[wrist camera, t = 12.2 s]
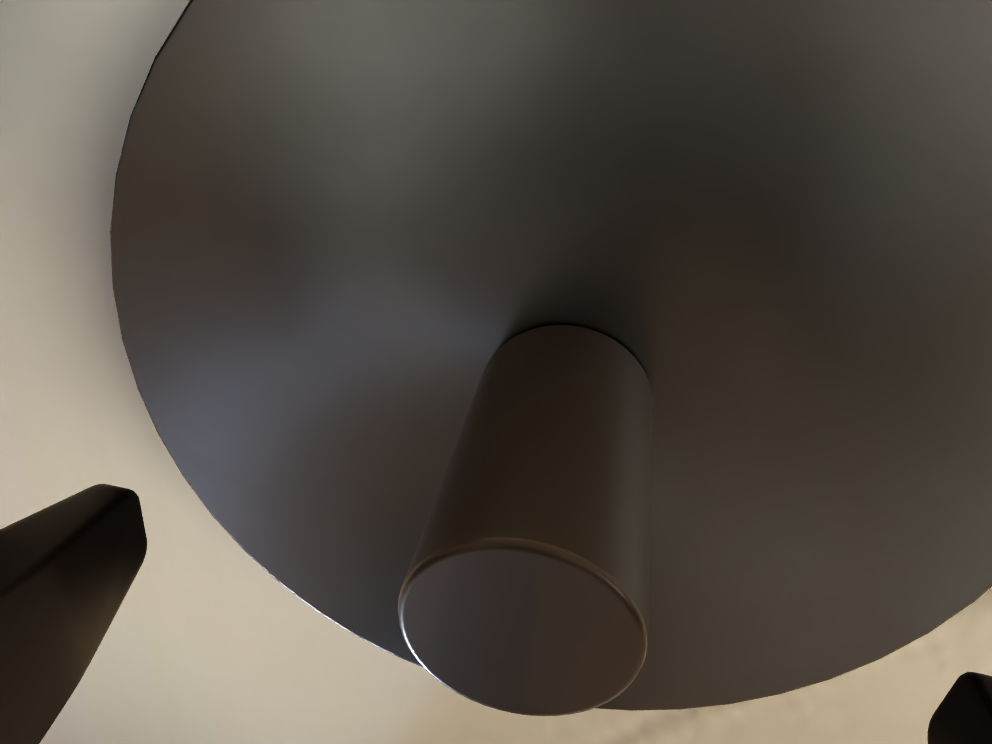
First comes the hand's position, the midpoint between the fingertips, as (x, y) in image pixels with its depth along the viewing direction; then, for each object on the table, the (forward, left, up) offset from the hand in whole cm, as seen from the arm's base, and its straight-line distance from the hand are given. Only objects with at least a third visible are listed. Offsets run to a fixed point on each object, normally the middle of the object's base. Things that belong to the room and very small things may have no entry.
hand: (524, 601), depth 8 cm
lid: (0, 0, -4) cm, 4 cm away
